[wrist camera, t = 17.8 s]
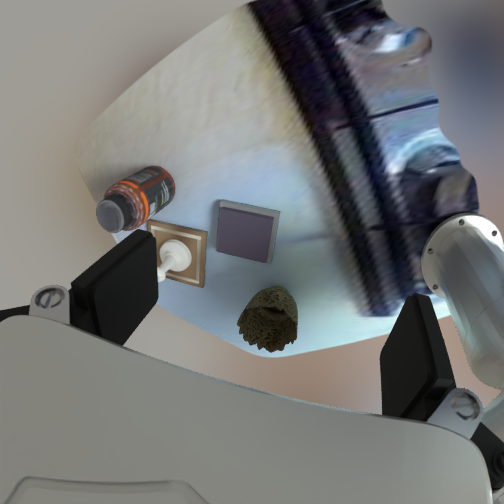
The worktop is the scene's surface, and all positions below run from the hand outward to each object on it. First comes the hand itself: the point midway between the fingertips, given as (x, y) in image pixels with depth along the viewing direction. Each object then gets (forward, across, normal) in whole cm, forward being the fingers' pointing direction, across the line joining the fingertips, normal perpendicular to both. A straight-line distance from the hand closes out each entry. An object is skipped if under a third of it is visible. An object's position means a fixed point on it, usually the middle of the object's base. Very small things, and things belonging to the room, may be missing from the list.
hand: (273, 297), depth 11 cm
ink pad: (+28, +7, +12) cm, 31 cm away
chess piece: (+28, +17, +17) cm, 37 cm away
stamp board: (+28, +17, +17) cm, 37 cm away
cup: (+28, +2, +20) cm, 35 cm away
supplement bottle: (+28, +20, +8) cm, 36 cm away
